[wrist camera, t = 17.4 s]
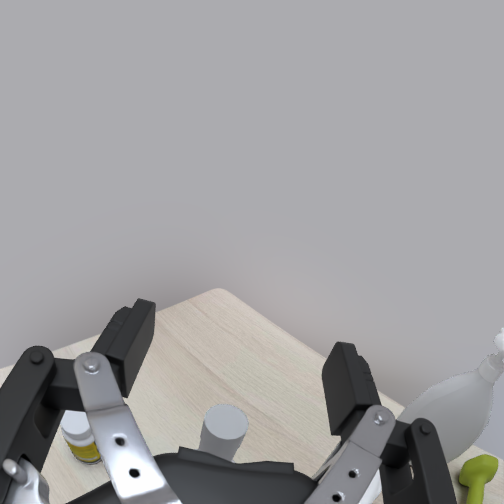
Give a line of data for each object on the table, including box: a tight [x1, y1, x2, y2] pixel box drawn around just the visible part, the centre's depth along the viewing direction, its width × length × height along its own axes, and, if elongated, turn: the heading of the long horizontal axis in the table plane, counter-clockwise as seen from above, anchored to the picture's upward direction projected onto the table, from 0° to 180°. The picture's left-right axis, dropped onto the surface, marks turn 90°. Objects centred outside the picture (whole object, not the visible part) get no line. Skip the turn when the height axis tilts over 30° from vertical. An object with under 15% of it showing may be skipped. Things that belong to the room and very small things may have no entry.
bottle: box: [194, 404, 249, 463], centre depth 17 cm, size 5×5×25 cm
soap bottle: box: [396, 327, 504, 465], centre depth 31 cm, size 14×8×27 cm, turn 50°
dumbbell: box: [459, 454, 498, 504], centre depth 23 cm, size 16×8×7 cm, turn 145°
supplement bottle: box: [60, 410, 101, 464], centre depth 27 cm, size 5×5×8 cm
